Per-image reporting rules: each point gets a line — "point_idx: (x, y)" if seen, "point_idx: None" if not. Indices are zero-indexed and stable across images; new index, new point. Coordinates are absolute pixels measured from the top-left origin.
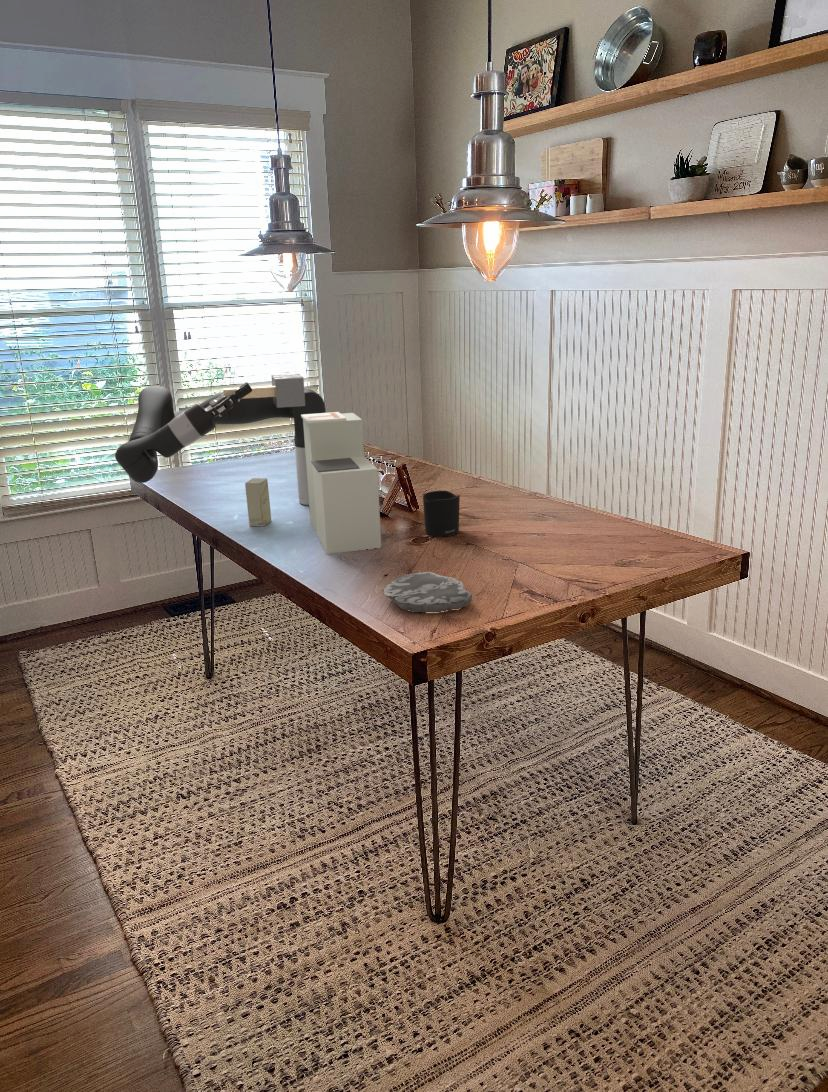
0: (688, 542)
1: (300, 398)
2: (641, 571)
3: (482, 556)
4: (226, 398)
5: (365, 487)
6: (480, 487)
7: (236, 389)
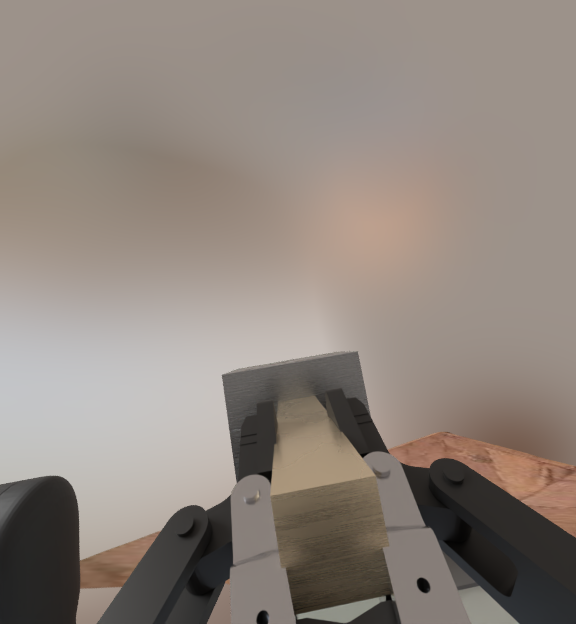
0: (420, 442)
1: None
2: (500, 454)
3: None
4: (503, 524)
5: None
6: None
7: (345, 439)
